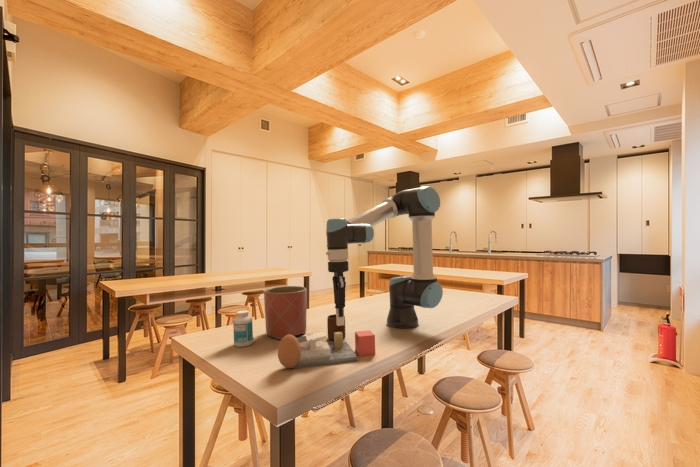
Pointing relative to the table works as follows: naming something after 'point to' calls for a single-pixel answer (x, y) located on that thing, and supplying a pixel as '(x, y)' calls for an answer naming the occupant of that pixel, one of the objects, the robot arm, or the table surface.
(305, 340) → the rocker
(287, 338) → the egg
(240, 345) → the pill bottle
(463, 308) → the table surface
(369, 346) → the red block
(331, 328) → the mug
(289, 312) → the planter
